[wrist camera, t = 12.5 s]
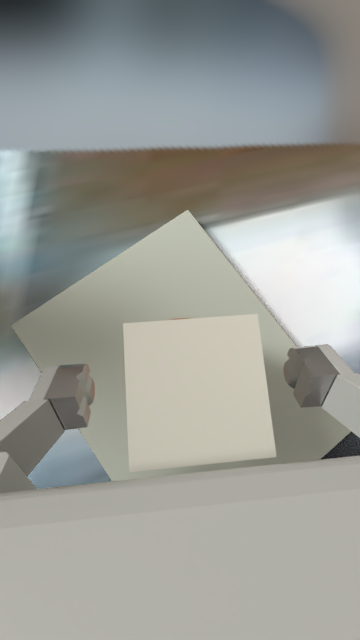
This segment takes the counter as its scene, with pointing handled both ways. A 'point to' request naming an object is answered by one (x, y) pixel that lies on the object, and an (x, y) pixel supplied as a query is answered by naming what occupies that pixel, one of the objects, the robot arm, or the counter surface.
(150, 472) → the base plate
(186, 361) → the square block
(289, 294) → the counter surface
